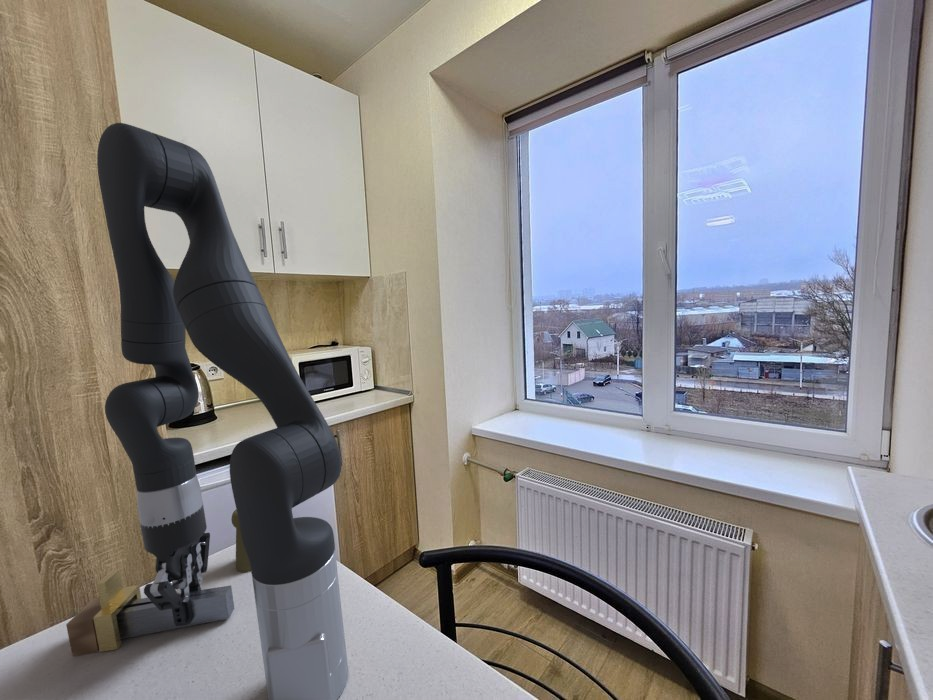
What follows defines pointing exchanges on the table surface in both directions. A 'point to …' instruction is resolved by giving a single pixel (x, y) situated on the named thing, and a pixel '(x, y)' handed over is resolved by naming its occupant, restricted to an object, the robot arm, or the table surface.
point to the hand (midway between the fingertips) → (189, 615)
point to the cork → (240, 547)
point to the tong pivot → (84, 630)
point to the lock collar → (112, 609)
